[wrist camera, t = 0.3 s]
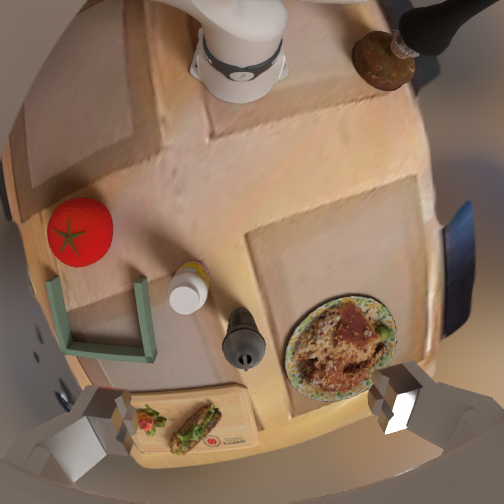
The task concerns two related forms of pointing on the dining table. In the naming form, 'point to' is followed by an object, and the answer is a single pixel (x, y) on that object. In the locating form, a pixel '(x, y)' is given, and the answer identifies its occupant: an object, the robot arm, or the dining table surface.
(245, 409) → the cutting board
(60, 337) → the corral
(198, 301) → the supplement bottle
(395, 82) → the oil lamp
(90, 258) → the tomato
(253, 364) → the beverage cup
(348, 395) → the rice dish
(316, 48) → the dining table surface
